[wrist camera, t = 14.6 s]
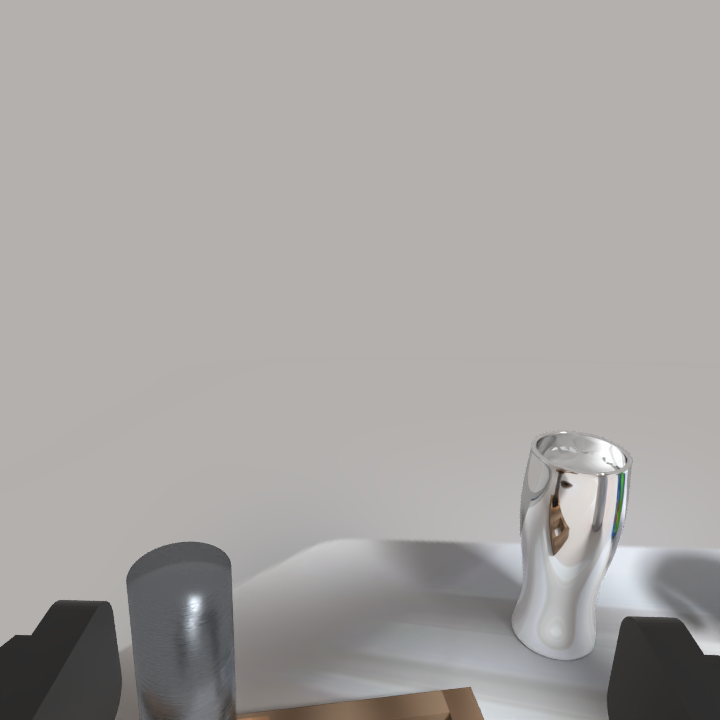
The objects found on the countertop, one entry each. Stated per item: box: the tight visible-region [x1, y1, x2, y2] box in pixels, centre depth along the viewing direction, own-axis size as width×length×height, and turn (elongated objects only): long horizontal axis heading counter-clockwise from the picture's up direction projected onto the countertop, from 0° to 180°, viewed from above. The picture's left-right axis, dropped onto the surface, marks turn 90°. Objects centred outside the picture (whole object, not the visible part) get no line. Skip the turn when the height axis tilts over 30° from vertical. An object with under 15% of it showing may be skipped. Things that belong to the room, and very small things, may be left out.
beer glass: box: [512, 431, 633, 660], centre depth 45 cm, size 7×7×15 cm
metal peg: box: [126, 542, 237, 720], centre depth 30 cm, size 4×4×16 cm
